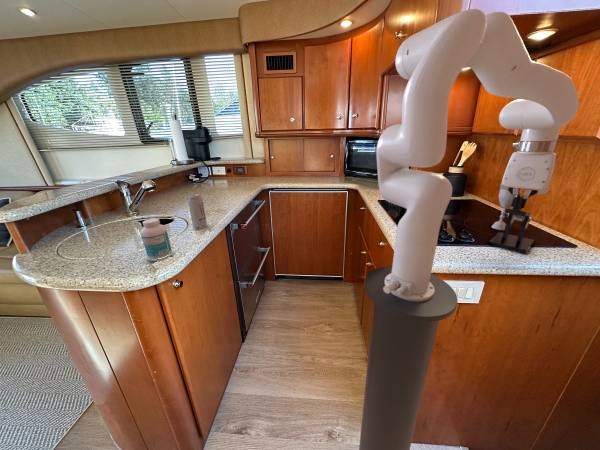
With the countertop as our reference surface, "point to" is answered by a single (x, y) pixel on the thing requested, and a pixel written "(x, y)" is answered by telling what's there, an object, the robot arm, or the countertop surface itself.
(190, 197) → the energy drink can
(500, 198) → the chalice
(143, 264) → the countertop surface
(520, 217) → the lever
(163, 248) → the pill bottle
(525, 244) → the bracket
